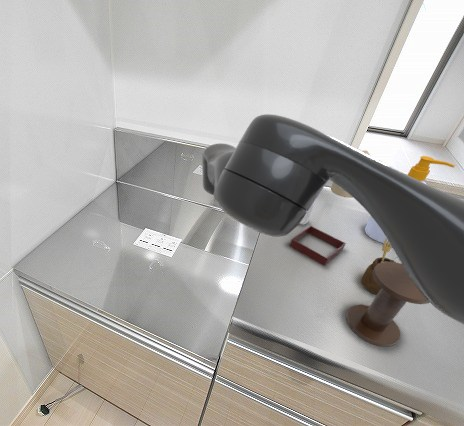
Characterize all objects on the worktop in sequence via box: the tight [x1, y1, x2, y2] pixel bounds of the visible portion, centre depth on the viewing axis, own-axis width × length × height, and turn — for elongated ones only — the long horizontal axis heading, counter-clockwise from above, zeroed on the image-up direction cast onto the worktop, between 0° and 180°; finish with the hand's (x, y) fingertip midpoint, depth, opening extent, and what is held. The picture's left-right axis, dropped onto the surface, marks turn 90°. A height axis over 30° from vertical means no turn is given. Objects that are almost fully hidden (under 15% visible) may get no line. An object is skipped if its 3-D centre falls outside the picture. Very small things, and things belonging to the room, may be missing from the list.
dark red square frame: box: [289, 225, 347, 267], centre depth 79 cm, size 10×10×2 cm
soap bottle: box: [364, 155, 456, 244], centre depth 76 cm, size 9×9×24 cm
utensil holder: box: [360, 238, 402, 296], centre depth 65 cm, size 6×6×12 cm
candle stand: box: [345, 261, 431, 348], centre depth 56 cm, size 9×9×14 cm
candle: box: [330, 148, 372, 199], centre depth 65 cm, size 6×6×10 cm
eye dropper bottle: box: [298, 202, 315, 226], centre depth 86 cm, size 4×6×12 cm
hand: (368, 159), depth 63 cm, fingers closed on candle, 5 cm apart
